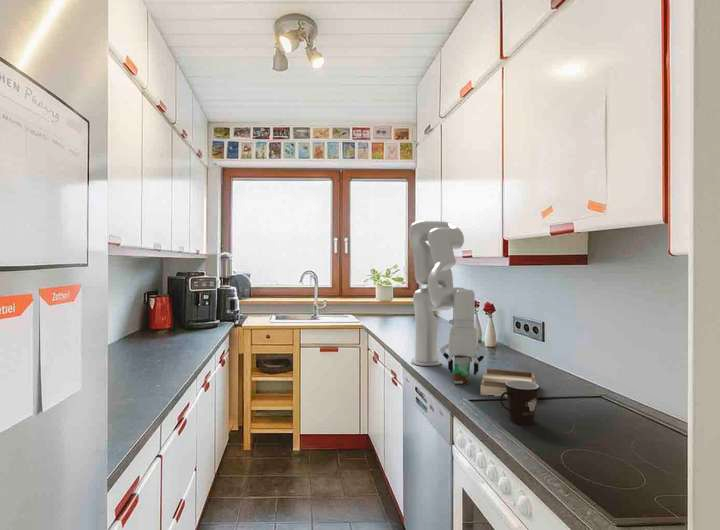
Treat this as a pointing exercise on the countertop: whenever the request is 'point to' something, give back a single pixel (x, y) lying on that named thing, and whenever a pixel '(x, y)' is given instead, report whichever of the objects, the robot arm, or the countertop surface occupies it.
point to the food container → (461, 370)
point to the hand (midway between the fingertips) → (463, 372)
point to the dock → (502, 380)
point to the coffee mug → (521, 401)
